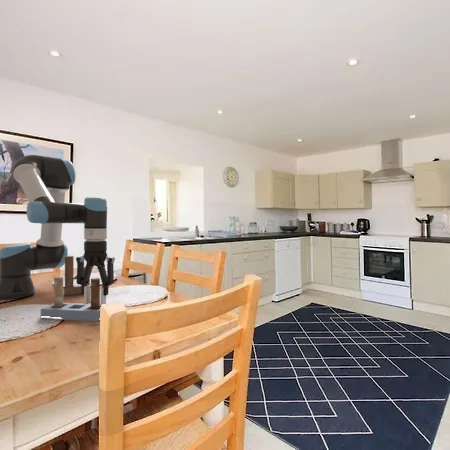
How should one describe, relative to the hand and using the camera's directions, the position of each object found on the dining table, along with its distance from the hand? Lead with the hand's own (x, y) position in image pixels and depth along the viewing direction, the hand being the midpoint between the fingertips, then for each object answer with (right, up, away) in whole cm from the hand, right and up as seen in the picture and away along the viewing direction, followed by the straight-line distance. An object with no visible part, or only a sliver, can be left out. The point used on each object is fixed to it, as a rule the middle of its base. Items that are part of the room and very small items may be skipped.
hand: (95, 303), depth 106 cm
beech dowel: (-14, -5, +1) cm, 15 cm away
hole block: (-7, -5, +1) cm, 8 cm away
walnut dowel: (0, -5, 0) cm, 5 cm away
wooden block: (-23, -4, +32) cm, 39 cm away
